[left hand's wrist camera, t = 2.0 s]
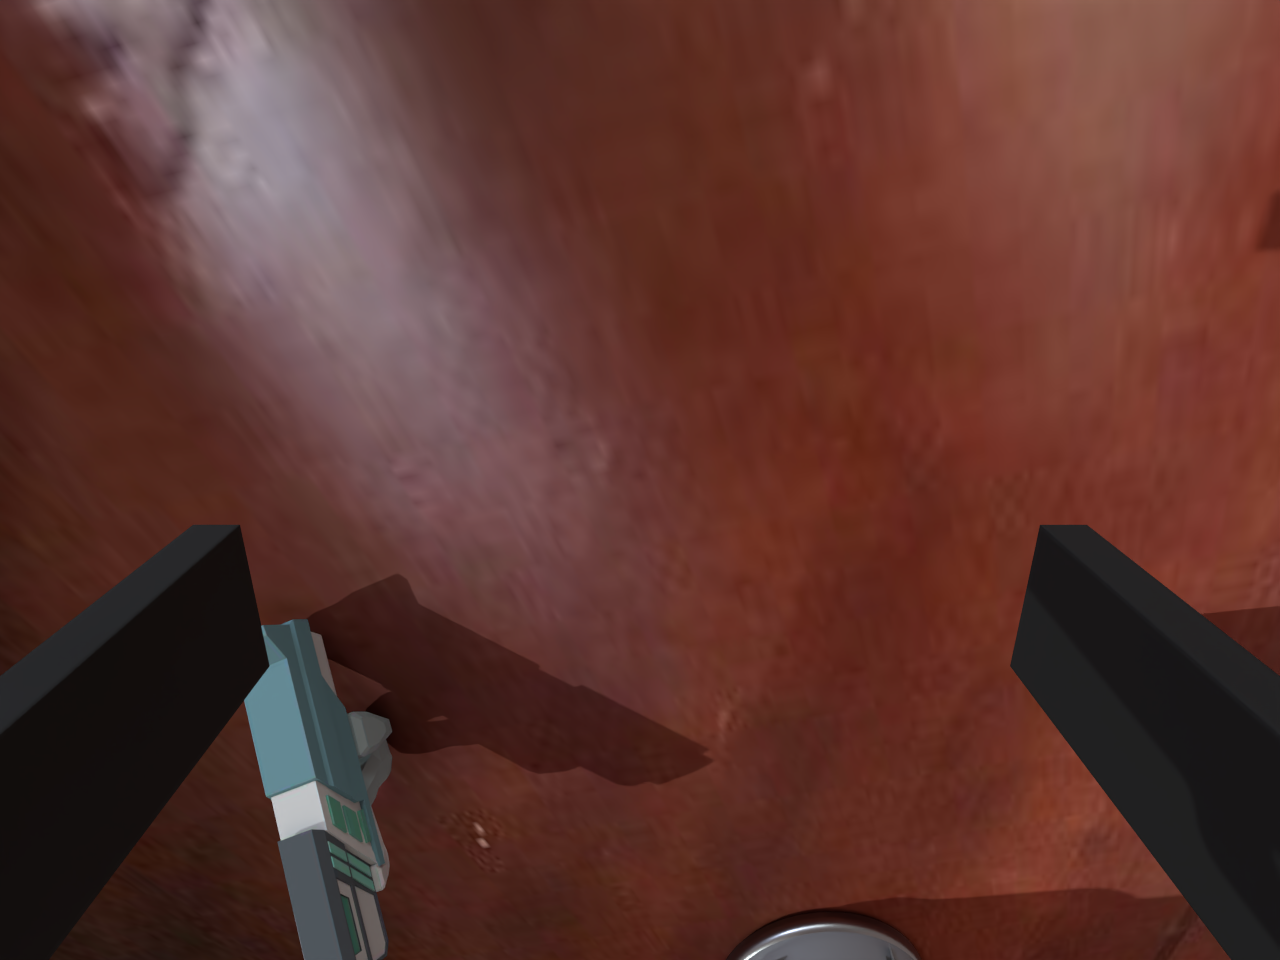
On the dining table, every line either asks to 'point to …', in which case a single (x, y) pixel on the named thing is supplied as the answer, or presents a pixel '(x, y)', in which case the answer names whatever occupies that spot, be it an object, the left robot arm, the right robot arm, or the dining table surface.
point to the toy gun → (322, 795)
